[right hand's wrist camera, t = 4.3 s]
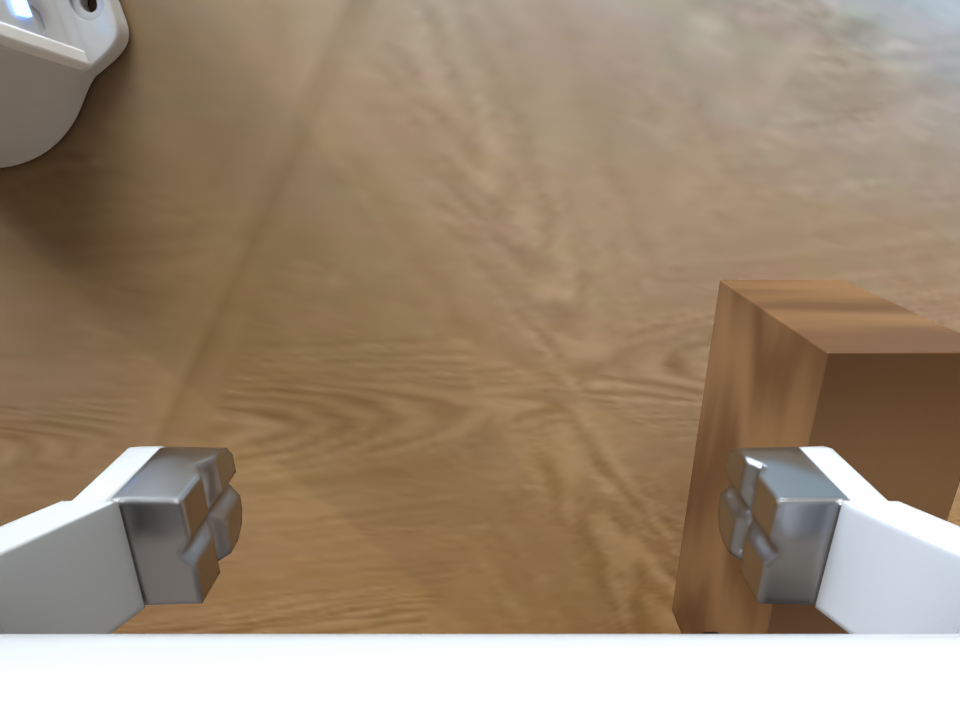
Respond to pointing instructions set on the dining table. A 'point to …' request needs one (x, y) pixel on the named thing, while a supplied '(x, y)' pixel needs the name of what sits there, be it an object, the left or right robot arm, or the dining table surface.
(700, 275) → the dining table surface
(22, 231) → the dining table surface
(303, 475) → the dining table surface
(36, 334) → the dining table surface
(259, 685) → the right robot arm
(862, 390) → the box
